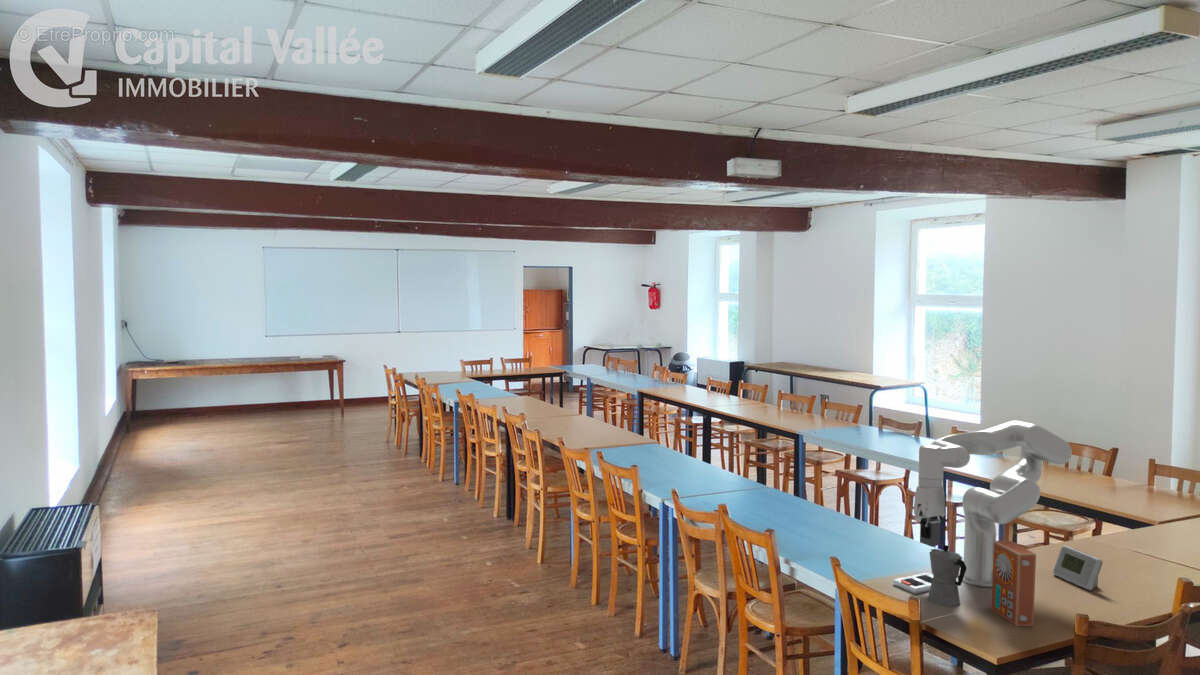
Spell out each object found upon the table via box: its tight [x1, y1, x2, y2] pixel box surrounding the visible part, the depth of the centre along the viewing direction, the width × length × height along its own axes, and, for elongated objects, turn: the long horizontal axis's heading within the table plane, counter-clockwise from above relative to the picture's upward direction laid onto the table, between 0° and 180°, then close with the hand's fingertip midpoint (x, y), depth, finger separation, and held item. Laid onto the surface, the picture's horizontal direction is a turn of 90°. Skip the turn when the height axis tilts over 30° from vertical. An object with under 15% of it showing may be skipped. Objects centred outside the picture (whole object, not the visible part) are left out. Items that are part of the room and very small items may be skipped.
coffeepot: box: [927, 544, 966, 607], centre depth 239 cm, size 15×9×18 cm, turn 14°
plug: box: [919, 517, 941, 548], centre depth 254 cm, size 4×5×8 cm
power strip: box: [892, 572, 933, 595], centre depth 253 cm, size 16×9×2 cm, turn 117°
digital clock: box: [1053, 545, 1103, 591], centre depth 258 cm, size 16×9×11 cm, turn 0°
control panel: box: [990, 540, 1037, 627], centre depth 228 cm, size 21×7×15 cm
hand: (929, 536), depth 254 cm, fingers closed on plug, 3 cm apart
